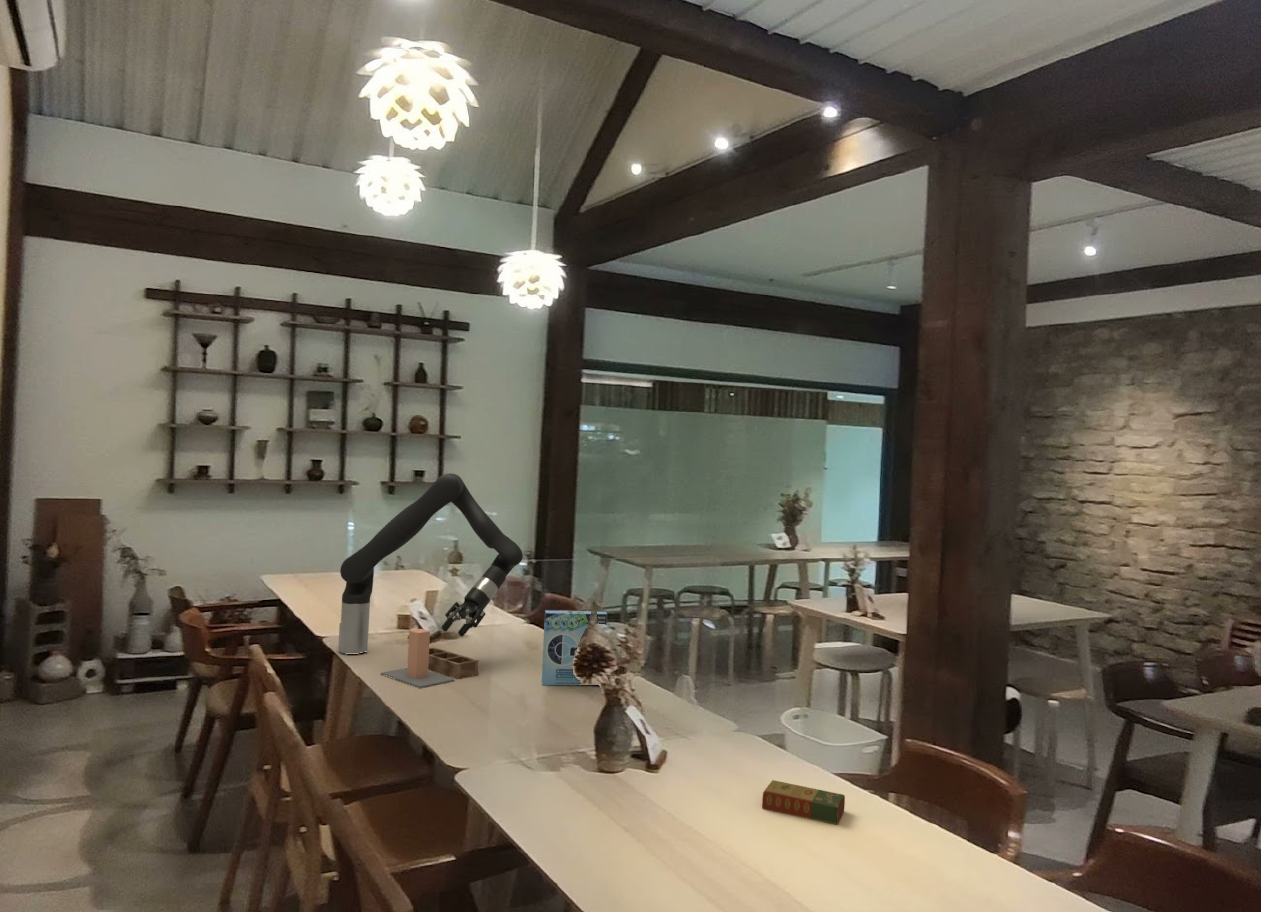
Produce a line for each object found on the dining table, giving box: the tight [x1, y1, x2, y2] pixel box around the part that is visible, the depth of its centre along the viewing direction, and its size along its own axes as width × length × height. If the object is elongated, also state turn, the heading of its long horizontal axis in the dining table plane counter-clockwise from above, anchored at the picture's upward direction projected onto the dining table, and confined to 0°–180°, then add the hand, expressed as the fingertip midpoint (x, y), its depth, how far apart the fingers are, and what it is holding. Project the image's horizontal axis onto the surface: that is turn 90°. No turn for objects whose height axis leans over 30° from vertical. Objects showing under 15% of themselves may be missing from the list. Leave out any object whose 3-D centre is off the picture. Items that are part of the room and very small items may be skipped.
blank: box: [406, 628, 431, 678], centre depth 281 cm, size 4×4×14 cm
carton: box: [761, 779, 846, 826], centre depth 193 cm, size 8×16×4 cm, turn 67°
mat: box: [380, 667, 456, 689], centre depth 281 cm, size 20×13×1 cm, turn 50°
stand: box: [428, 647, 480, 680], centre depth 292 cm, size 23×8×4 cm, turn 50°
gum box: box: [541, 609, 608, 687], centre depth 283 cm, size 20×5×23 cm, turn 98°
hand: (451, 632), depth 291 cm, fingers open, 8 cm apart
